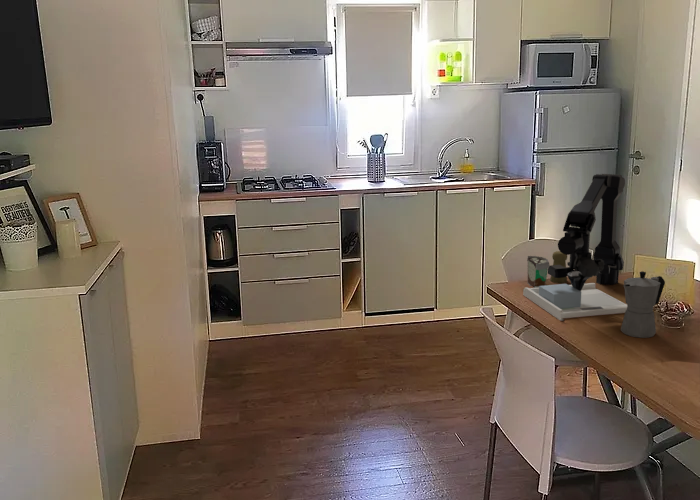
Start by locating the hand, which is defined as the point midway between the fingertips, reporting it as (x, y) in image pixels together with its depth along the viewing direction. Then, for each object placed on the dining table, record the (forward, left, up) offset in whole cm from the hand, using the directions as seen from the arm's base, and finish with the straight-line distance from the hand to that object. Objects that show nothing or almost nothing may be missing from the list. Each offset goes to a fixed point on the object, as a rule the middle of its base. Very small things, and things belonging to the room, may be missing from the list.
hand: (577, 294), depth 207 cm
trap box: (-1, 0, -3) cm, 3 cm away
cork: (-7, -26, -3) cm, 27 cm away
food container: (+3, -21, -3) cm, 22 cm away
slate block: (+6, 0, -2) cm, 7 cm away
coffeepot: (-5, +27, -3) cm, 28 cm away
